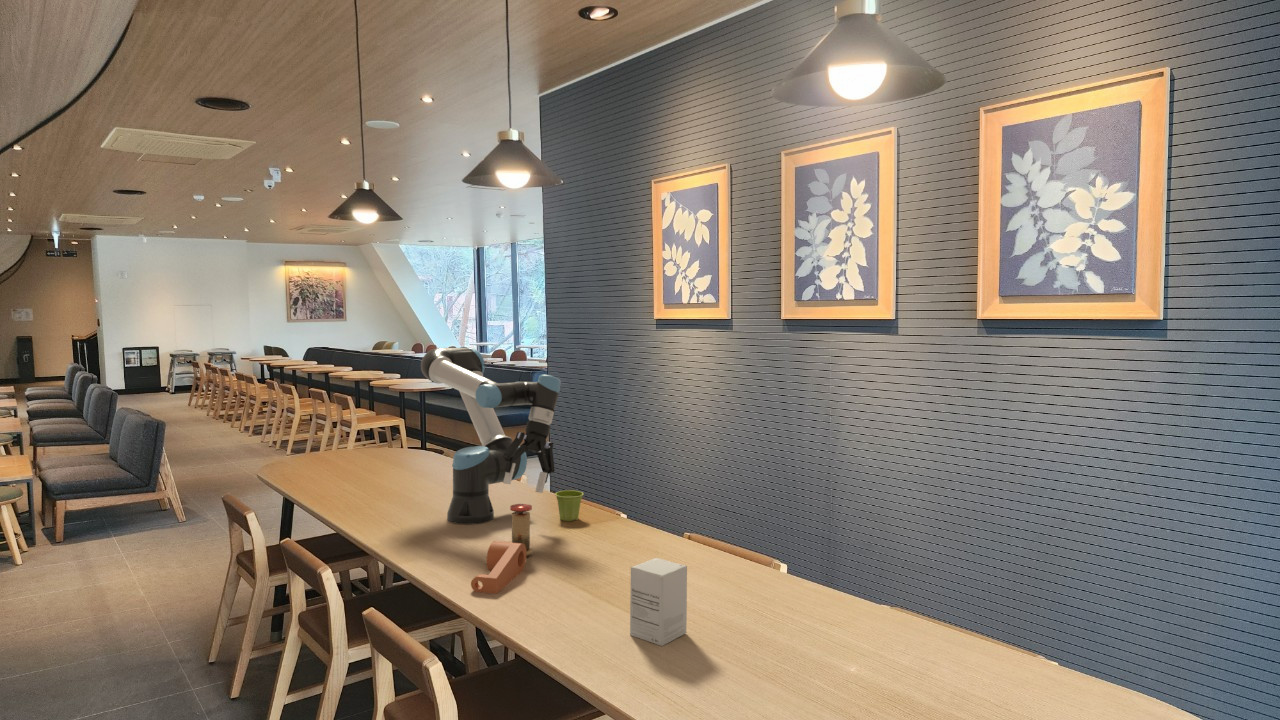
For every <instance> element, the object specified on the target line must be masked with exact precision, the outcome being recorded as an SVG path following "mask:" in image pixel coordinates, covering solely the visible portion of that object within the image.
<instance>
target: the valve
mask: <svg viewBox="0 0 1280 720" xmlns="http://www.w3.org/2000/svg"><path fill="white" fill-rule="evenodd" d="M509 506H510V507H509V509H510V511H512V512H511V543H521V544H524V545H525V547H526V559H529V558H532V556H533V549H532V548H531V547H530V545H531V544H530V543H531V542H530V541H531V539H530V538H531V533H530V532H531V527H530V526H531V513H530V511H532V509H533V506H532V505H531V504H530V503H529V504H528V503H516V504H511V505H509Z"/></svg>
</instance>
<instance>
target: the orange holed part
mask: <svg viewBox="0 0 1280 720" xmlns="http://www.w3.org/2000/svg"><path fill="white" fill-rule="evenodd" d="M526 562H527V558H526V547H525V545H524V544H521V543H512V542H506V541H497V540H495V541H492V542H491V543H490V545H489V547H488V550H487V553H486V567H487V571H488V572H489V574H480V573H479V574H478V575H476V576H475V577H474V578H472V580H471V581H470V587H471V589H472V590H473V591H474V592H475V593H476V592H477V593H486V594H493V595H494V594H496V595H497V594H498V593H499V592H501V590H502V589H504V588H505V587H507V585H508V584H510V583H511V582H512V581H514V580H515V578H517V577H518V576H519V575H520V574H521V573H523V572H524V570H525V567H526ZM479 582H480V583H481V584H482V586H481V585H480V584H479Z"/></svg>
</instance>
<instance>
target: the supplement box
mask: <svg viewBox="0 0 1280 720" xmlns="http://www.w3.org/2000/svg"><path fill="white" fill-rule="evenodd" d="M687 599H688V566H687V565H685V564H682V563H677V562H673V561H669V560H666V559H663V558H659V557H654V558H652V559H649V560H646V561H644V562H642V563H639V564H636V565H634V566H631V567H630V600H629V601H630V602H629V603H630V604H629V606H630V609H629V610H630V611H629V614H630V615H629V616H630V617H629V619H630V621H629V623H630V624H629V626H630V628H629V629H630V630H629V636H632V637H634V638H638V639H641V640H643V641H646V642H650V643H652V644H655V645H658V646H662V647H663V646H665V645H667V644H669V643H670V642H672V641H675V640H676V639H678V638H680V637H682V636H684V635H686V633H687V618H688V617H687V614H688V613H687V612H688V611H687V609H688V607H687V606H688V605H687V604H688V601H687Z"/></svg>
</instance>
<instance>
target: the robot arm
mask: <svg viewBox="0 0 1280 720" xmlns="http://www.w3.org/2000/svg"><path fill="white" fill-rule="evenodd" d="M420 369H421V373H422V374H423V376H424V377H425V378H426V379H427V380H429V381H431V382H433V383H435V384H438V385H439V384H444V385H446V386H448V387H451V388H453V389H454V390H457V391H458V392H459V394H460V396H461V399H462V401H463V403H464V406H465V408H466V410H467V413H468V415H469V417H470V420H471V422H472V424H473V427H474V430H475V432H476V433H477V435H478V439H479V441H480V443H481V445H475V446H467V447H463V448H460V449H459V450H457V451H455V452H454V454H453V458H452V459H453V460H452V498H451V501H450V504H449V506H448V510H447V515H446V516H447V518H446V519H447V520H446V521H448V522H450V523H453V524H460V525H474V524H482V523H486V522H490V521H492V520H493V519H494V518H495V517H494V515H495V514H494V513H495V511H494V508H493V504H492V502H491V499H490V495H489V491H490V489H489V488H490V485H492V484H500V483H503V484H506V485H511V483H512V481H514V480H518V479H520V478H521V477H522V476H523V475H524V474H525V472H526V469H527V465H528V458H527V451H531V452H532V453H535V454H536V455H537V458H538V461H539V464H540V468H541V470H542V471H540V472H539V476H538V480H537V484H536V488H535V493H540V494H544V493H543V492H544V489H545V484H547V482H548V478H549V474H552V473H555V471H556V470H555V461H554V453H553V452H554V451H553V448H554V443H553V441H547V438H548V437H549V435H550V430H551V424H552V422H553V417H554V415H555V414H554V413H555V411H556V405H557V402H558V398H559V395H560V390H561V385H562V380H561V379H560V378H558V377H556V376H554V375H550V374H540V375H539V376H538V379H537V381H526V380H525V381H524V380H522V381H520V380H519V381H515V382H502V383H501V382H496V381H495V380H494V381H493V380H491V379H489V378H487V377H484V372H485V360H484V357H483V355H482V353H481V352H480V351H479V350H477V348H473V347H469V346H468V347H467V346H461V347H437V348H432V349H431V350H429V351H427V352H426V353H425V354H424V355H423V357H422V359H421V363H420ZM523 405H524V406H525V405H529V406H530V410H529V414H528V421H527V423H526V426H525V432H521V431H518V432H517V433H516V435H515V437H514V439H512V437H511V436H507V435H506V434H505V432H504V429H503V427H502V424H501V422H500V420H499V418H498V416H497V413H496V412H495V409H494V408H500V407H501V408H503V407H510V406H523ZM523 441H524V442H523Z"/></svg>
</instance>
